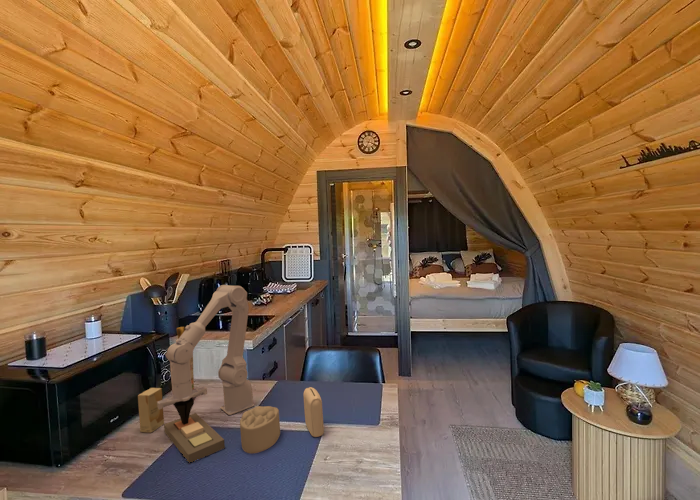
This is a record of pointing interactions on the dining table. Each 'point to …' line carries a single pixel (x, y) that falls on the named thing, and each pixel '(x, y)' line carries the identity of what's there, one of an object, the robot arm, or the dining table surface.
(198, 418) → the keypad base
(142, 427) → the skincare box
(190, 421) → the terracotta key
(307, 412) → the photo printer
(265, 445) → the lumpy-topped squat cylinder
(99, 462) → the dining table surface
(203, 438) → the sage key
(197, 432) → the cream key
